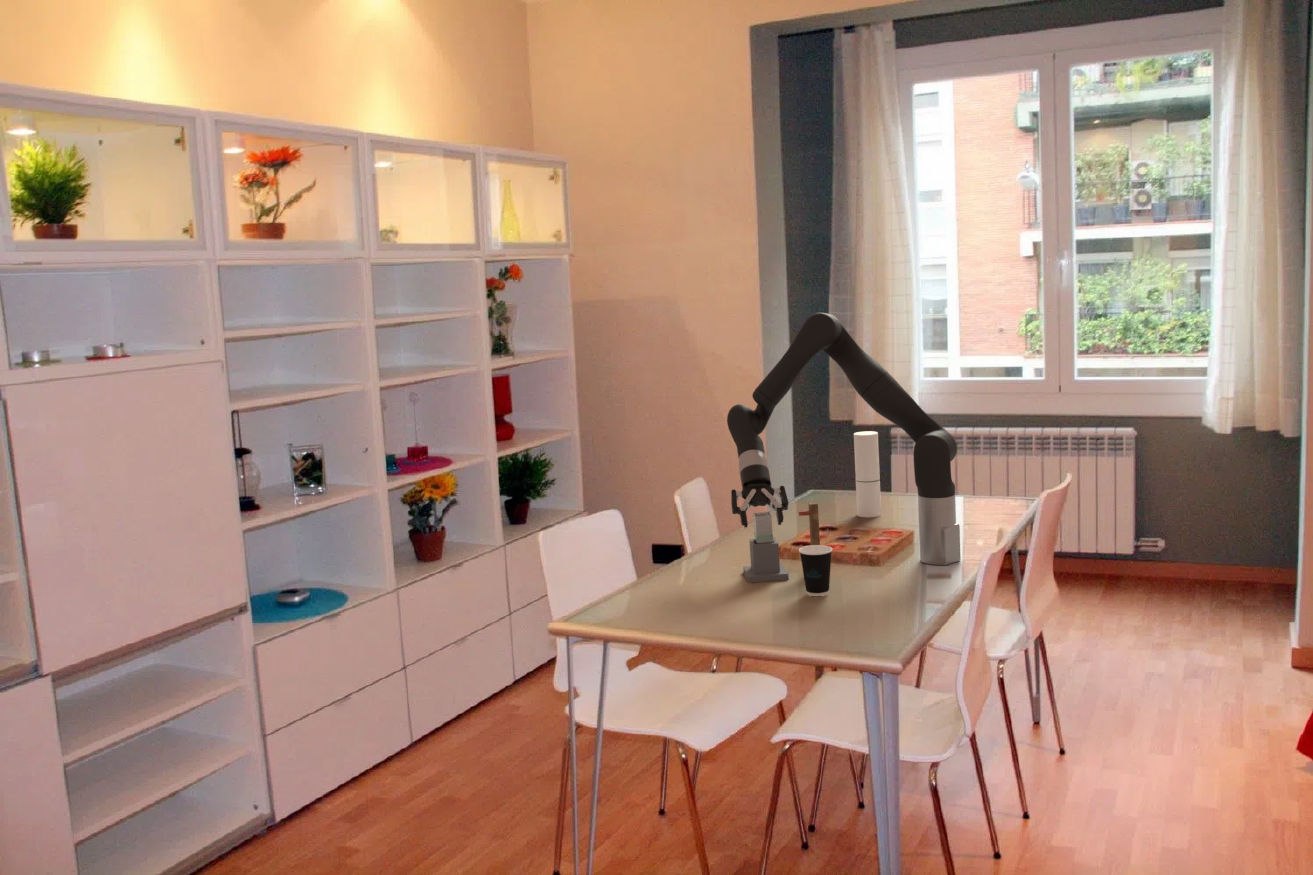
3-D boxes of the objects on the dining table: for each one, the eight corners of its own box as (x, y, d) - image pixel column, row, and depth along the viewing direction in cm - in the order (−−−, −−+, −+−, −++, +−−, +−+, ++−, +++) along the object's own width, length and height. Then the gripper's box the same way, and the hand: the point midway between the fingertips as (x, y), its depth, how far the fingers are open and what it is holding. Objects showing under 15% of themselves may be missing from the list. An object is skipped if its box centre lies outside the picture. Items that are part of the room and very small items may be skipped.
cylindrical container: (879, 511, 351) (876, 430, 347) (882, 516, 344) (878, 434, 340) (856, 512, 352) (852, 432, 348) (858, 517, 345) (854, 435, 341)
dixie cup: (826, 587, 277) (824, 543, 275) (840, 596, 269) (837, 550, 268) (796, 591, 275) (793, 547, 273) (808, 600, 268) (806, 555, 266)
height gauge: (822, 568, 293) (819, 501, 290) (825, 573, 289) (822, 504, 286) (800, 570, 293) (797, 502, 290) (803, 574, 289) (800, 506, 286)
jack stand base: (782, 568, 296) (780, 534, 294) (788, 579, 286) (786, 544, 284) (743, 572, 295) (741, 538, 294) (748, 582, 285) (746, 547, 284)
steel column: (772, 565, 292) (769, 511, 290) (774, 569, 288) (771, 515, 286) (755, 566, 292) (752, 512, 290) (758, 570, 288) (755, 516, 286)
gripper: (727, 465, 294) (735, 518, 285) (782, 461, 295) (792, 514, 285) (726, 481, 300) (734, 534, 291) (780, 477, 301) (790, 530, 291)
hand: (763, 524), depth 288 cm, fingers open, 8 cm apart
